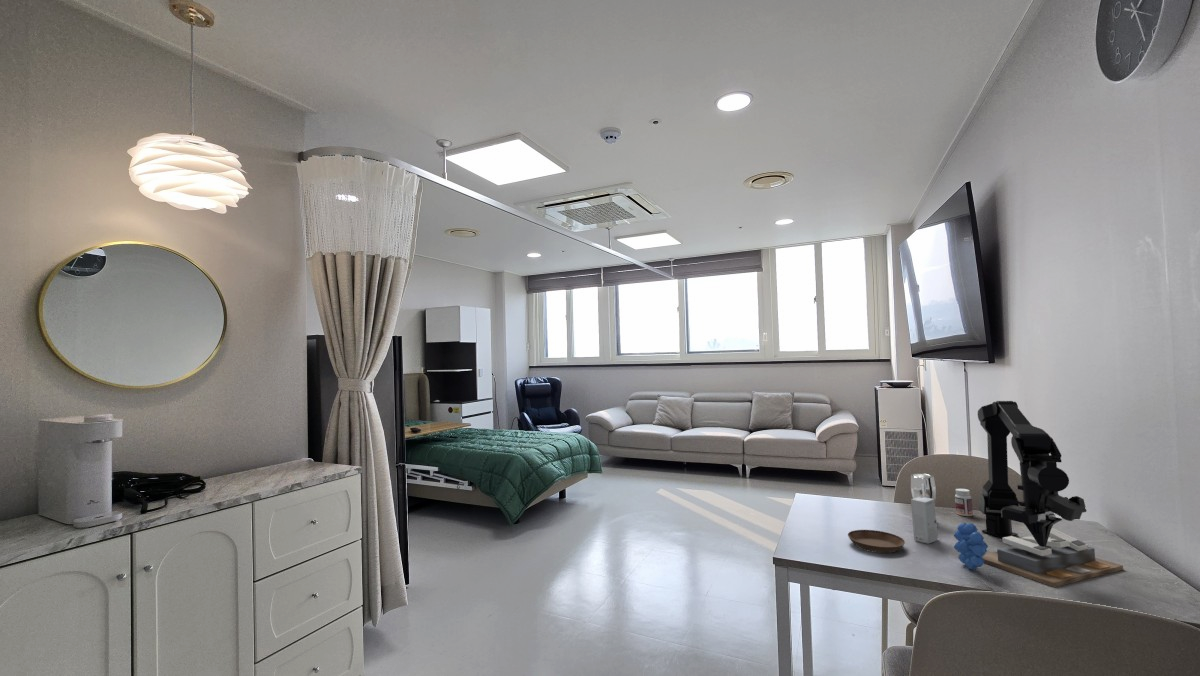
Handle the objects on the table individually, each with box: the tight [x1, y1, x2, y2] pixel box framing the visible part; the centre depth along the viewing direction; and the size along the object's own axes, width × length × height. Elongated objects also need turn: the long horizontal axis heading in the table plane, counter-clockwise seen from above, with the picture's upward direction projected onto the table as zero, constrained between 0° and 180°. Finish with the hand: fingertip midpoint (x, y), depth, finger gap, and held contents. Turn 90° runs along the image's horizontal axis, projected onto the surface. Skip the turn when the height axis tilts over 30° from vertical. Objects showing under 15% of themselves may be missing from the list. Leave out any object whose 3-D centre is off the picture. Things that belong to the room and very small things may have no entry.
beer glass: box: [910, 473, 937, 505], centre depth 167 cm, size 7×7×15 cm
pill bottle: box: [954, 488, 974, 517], centre depth 172 cm, size 5×5×8 cm
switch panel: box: [982, 537, 1124, 588], centre depth 129 cm, size 26×18×5 cm
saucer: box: [847, 529, 906, 554], centre depth 146 cm, size 15×15×3 cm
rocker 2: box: [1049, 527, 1089, 551], centre depth 131 cm, size 4×9×1 cm, turn 18°
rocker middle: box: [1020, 535, 1070, 548], centre depth 129 cm, size 4×9×1 cm, turn 18°
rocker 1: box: [1001, 536, 1052, 556], centre depth 127 cm, size 4×9×1 cm, turn 18°
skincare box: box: [910, 497, 939, 544], centre depth 149 cm, size 6×4×12 cm
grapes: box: [953, 522, 989, 571], centre depth 128 cm, size 12×7×12 cm, turn 171°
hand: (1042, 546), depth 123 cm, fingers closed
